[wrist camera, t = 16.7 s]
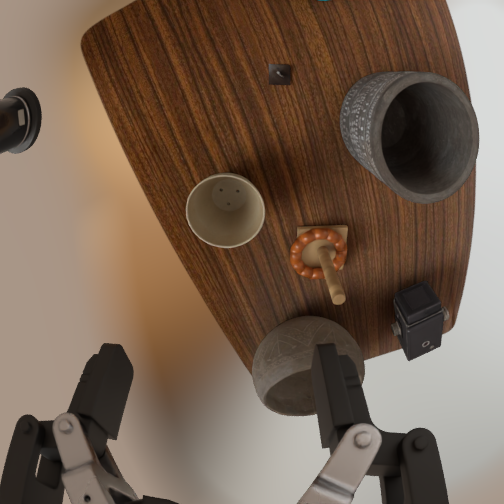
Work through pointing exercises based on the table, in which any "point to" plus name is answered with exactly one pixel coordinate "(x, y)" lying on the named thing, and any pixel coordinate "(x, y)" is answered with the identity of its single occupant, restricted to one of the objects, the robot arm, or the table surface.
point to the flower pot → (225, 210)
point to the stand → (325, 259)
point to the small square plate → (279, 74)
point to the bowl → (297, 363)
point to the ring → (310, 237)
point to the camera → (418, 319)
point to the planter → (411, 133)
